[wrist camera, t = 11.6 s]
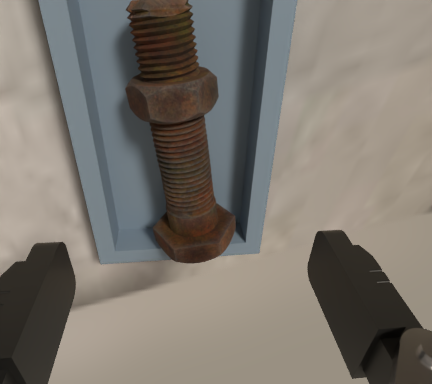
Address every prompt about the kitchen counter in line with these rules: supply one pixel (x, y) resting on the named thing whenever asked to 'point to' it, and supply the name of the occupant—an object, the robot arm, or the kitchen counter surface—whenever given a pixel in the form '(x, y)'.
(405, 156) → the kitchen counter surface
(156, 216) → the parts tray
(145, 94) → the bolt
